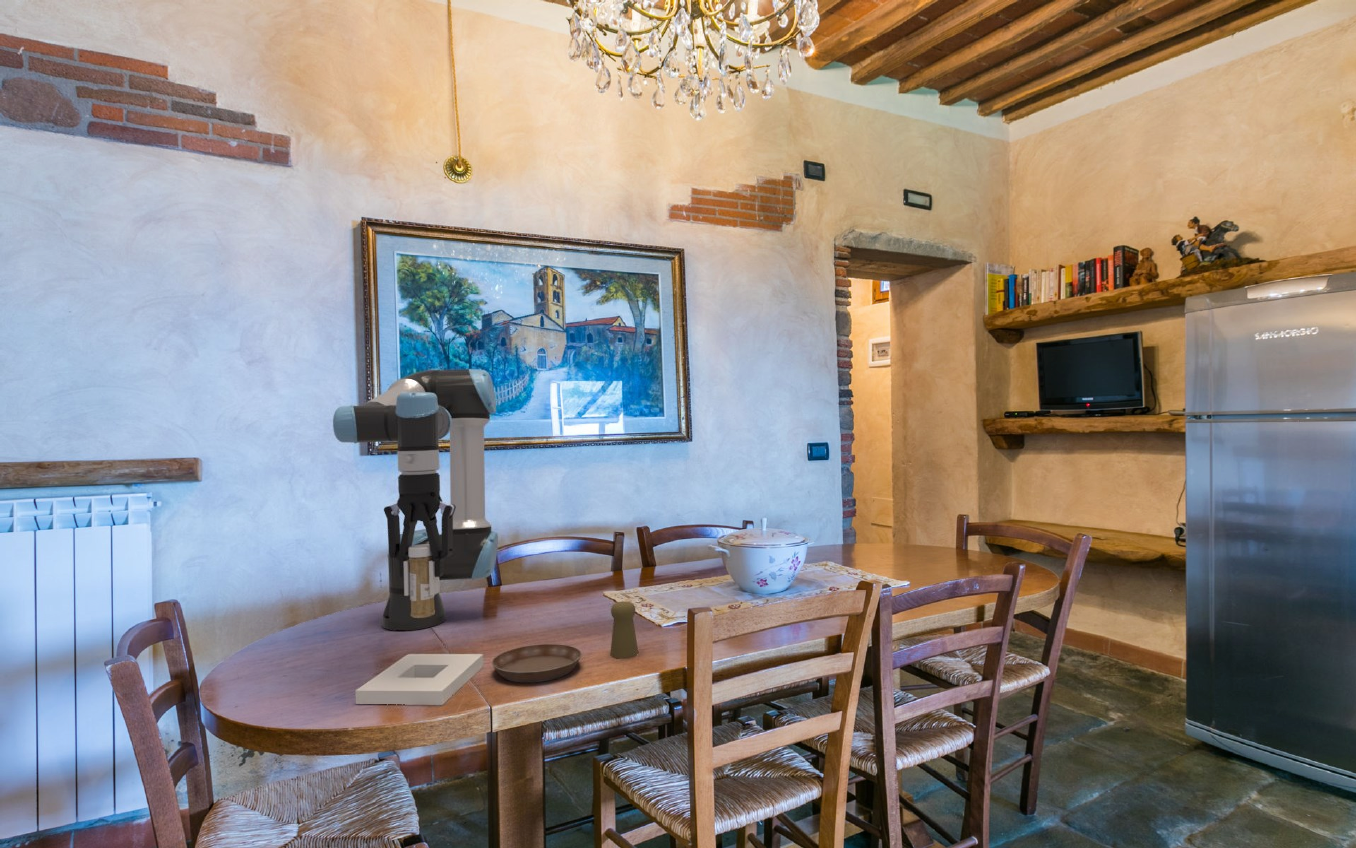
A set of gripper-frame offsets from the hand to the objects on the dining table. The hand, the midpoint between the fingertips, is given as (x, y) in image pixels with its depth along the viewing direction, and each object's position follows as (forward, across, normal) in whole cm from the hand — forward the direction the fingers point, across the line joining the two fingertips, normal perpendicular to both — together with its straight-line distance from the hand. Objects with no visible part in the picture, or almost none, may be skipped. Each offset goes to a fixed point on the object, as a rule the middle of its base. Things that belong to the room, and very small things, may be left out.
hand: (422, 593), depth 134 cm
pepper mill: (+18, +36, +18) cm, 44 cm away
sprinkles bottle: (+4, 0, 0) cm, 4 cm away
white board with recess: (+17, 0, 0) cm, 17 cm away
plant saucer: (+18, +20, +8) cm, 28 cm away
